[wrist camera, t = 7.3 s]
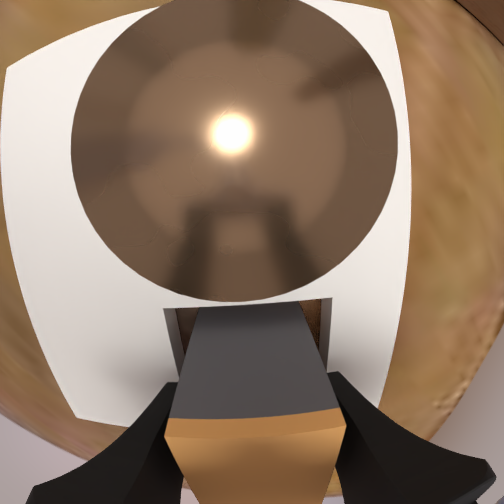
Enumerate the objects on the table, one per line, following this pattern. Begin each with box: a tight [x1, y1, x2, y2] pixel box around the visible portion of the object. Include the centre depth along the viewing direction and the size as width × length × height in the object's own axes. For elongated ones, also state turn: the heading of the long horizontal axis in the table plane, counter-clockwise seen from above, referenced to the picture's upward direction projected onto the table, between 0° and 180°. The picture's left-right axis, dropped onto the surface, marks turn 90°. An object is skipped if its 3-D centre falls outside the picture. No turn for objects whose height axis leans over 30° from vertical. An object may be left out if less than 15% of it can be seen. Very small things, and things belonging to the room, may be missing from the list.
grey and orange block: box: [164, 301, 346, 504], centre depth 9 cm, size 4×5×7 cm
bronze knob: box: [71, 0, 398, 302], centre depth 6 cm, size 5×5×5 cm
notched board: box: [0, 0, 411, 427], centre depth 10 cm, size 16×18×2 cm
